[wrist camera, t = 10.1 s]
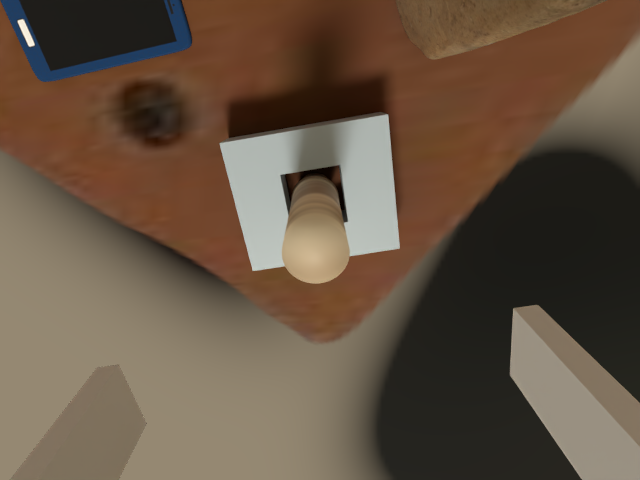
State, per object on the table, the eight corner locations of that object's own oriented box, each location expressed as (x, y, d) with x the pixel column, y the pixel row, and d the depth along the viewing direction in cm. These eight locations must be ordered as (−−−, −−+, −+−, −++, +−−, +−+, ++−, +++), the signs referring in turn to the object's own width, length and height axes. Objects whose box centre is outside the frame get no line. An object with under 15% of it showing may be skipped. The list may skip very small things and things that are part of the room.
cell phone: (-2, -15, 29) (-10, -17, 28) (165, -57, 28) (161, -61, 27) (43, 84, 32) (37, 84, 31) (196, 48, 31) (193, 47, 30)
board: (228, 138, 33) (219, 143, 30) (380, 111, 33) (388, 114, 29) (258, 255, 38) (253, 271, 35) (392, 234, 37) (399, 248, 34)
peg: (290, 171, 35) (273, 226, 21) (333, 164, 34) (345, 214, 20) (298, 212, 36) (287, 289, 22) (339, 205, 36) (355, 278, 22)
